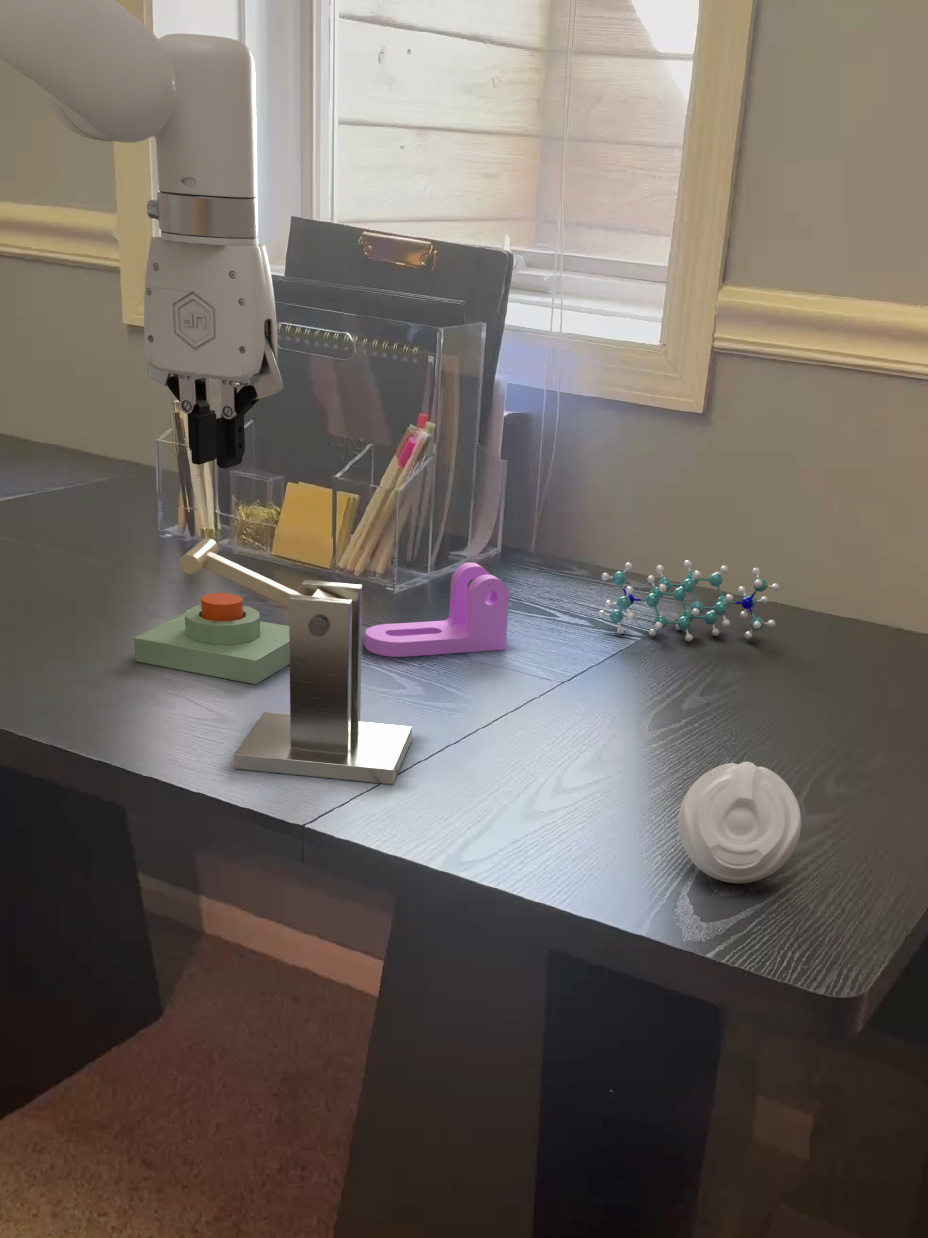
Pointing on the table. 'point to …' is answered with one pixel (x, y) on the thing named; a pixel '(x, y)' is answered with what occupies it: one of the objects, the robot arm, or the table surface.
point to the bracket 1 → (325, 699)
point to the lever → (236, 572)
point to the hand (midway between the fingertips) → (217, 462)
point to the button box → (217, 646)
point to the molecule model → (680, 595)
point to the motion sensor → (739, 822)
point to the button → (222, 607)
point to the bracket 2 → (452, 621)
